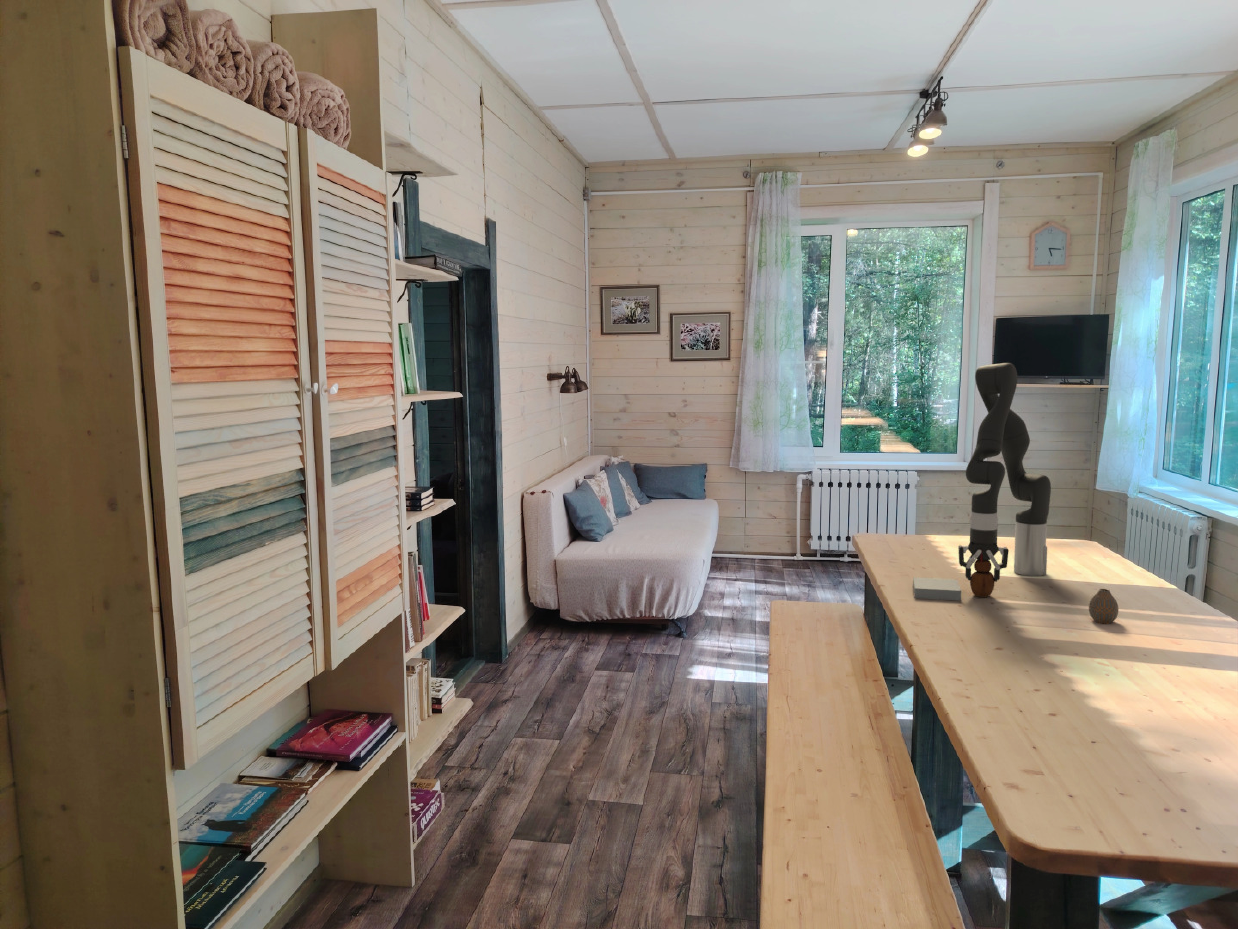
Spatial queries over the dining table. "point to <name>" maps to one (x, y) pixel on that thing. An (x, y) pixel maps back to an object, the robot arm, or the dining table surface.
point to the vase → (1103, 607)
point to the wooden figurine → (982, 578)
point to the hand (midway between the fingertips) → (982, 580)
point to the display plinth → (936, 588)
